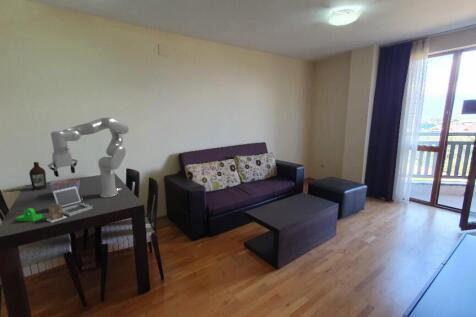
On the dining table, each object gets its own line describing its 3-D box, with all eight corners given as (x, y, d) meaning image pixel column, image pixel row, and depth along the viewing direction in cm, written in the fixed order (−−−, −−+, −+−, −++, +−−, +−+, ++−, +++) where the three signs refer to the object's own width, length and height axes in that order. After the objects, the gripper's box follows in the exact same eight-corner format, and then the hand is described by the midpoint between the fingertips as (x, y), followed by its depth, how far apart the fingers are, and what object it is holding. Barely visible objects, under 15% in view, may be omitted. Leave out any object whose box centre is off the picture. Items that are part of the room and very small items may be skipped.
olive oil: (31, 189, 200) (27, 162, 196) (47, 187, 208) (43, 160, 204) (32, 192, 193) (27, 163, 189) (48, 189, 200) (44, 162, 196)
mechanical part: (42, 217, 142) (40, 205, 141) (33, 221, 137) (31, 209, 135) (26, 216, 144) (24, 204, 143) (15, 220, 138) (13, 208, 137)
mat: (61, 215, 145) (61, 214, 145) (66, 217, 142) (66, 216, 142) (46, 220, 138) (46, 219, 138) (51, 222, 135) (51, 221, 135)
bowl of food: (87, 192, 193) (86, 179, 191) (66, 200, 174) (64, 185, 172) (67, 191, 196) (65, 178, 194) (44, 198, 177) (42, 184, 175)
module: (59, 215, 144) (57, 202, 142) (63, 217, 141) (61, 204, 140) (50, 218, 139) (48, 205, 138) (53, 220, 137) (51, 206, 135)
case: (79, 203, 167) (77, 185, 165) (94, 208, 158) (92, 189, 155) (55, 210, 154) (52, 191, 151) (69, 216, 144) (67, 195, 142)
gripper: (72, 147, 158) (76, 171, 161) (42, 151, 143) (47, 177, 146) (78, 148, 154) (82, 172, 158) (48, 152, 139) (53, 178, 143)
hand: (65, 174), depth 152 cm, fingers open, 9 cm apart
